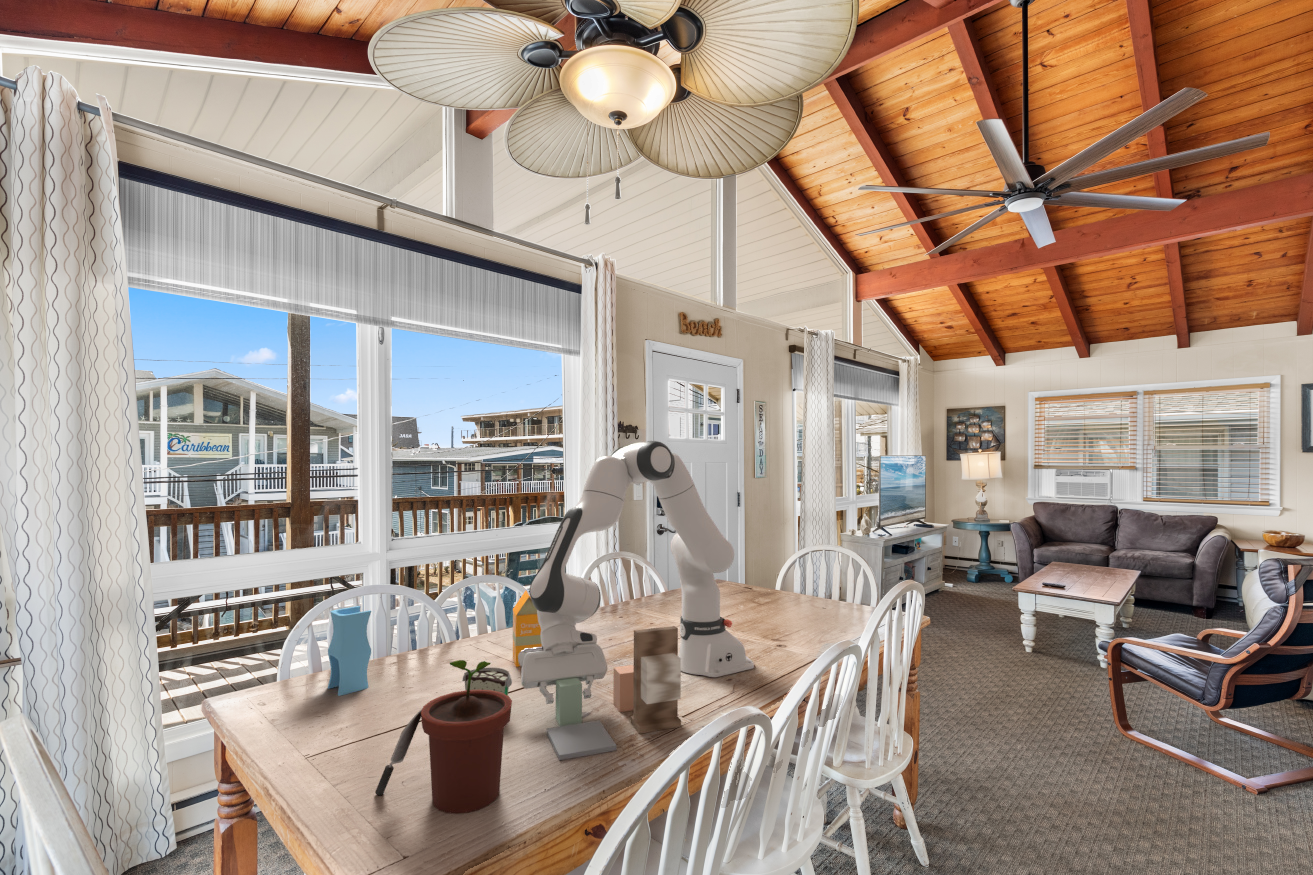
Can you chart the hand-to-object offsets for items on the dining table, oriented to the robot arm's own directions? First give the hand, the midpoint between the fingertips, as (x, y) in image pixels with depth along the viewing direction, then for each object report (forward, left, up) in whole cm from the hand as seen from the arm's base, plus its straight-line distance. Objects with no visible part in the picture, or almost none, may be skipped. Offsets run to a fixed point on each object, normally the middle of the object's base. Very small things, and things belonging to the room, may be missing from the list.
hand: (569, 699), depth 143 cm
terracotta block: (-15, -4, -5) cm, 16 cm away
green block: (0, -1, -5) cm, 5 cm away
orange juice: (+2, -46, -5) cm, 46 cm away
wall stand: (-18, +8, -5) cm, 20 cm away
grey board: (0, +10, -5) cm, 11 cm away
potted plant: (+27, +21, -5) cm, 34 cm away
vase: (+49, -41, -5) cm, 64 cm away
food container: (+16, -11, -5) cm, 20 cm away
